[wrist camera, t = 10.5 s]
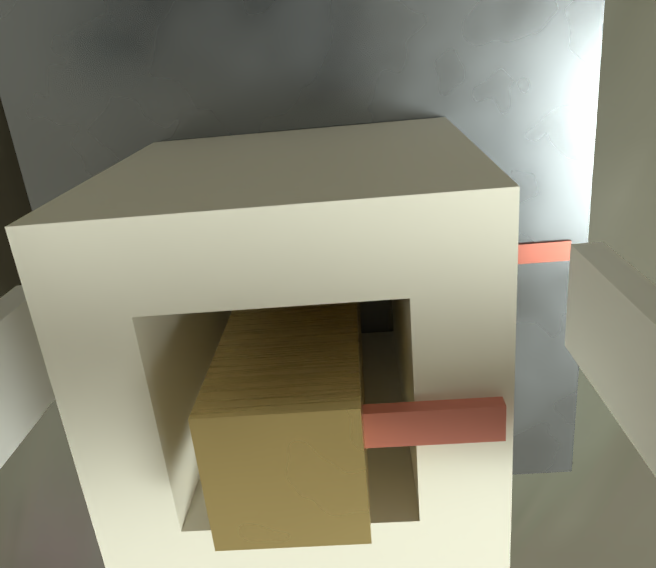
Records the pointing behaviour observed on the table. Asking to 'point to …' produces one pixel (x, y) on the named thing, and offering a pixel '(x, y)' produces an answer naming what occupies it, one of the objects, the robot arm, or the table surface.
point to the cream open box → (284, 291)
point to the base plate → (306, 113)
